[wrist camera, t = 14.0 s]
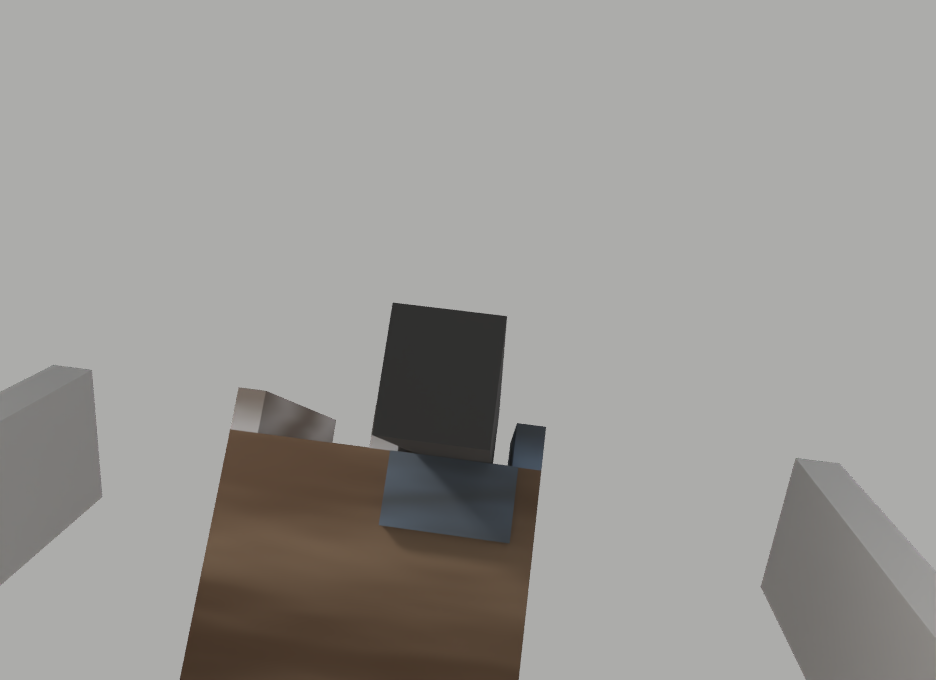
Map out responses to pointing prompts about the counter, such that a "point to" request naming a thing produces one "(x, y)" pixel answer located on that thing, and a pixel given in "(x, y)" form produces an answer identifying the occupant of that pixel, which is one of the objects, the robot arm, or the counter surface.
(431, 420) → the bar
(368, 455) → the wooden block tower
